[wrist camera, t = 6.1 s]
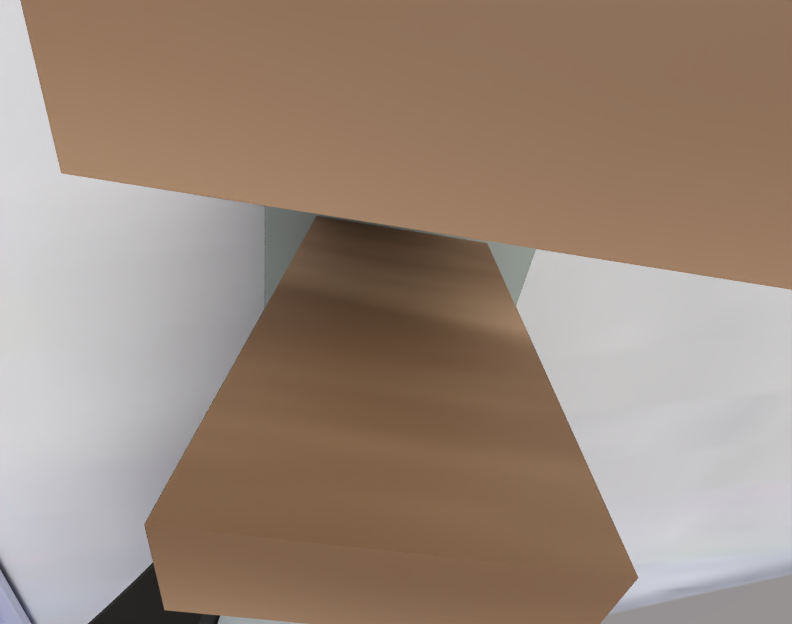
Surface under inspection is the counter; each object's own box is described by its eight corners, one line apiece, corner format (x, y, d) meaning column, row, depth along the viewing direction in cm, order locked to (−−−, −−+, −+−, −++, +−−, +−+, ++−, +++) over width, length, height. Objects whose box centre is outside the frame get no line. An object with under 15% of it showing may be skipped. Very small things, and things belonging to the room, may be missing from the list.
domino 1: (521, 120, 10) (867, 302, 3) (325, 85, 10) (60, 173, 2) (543, 44, 10) (1134, -19, 2) (330, 2, 9) (-48, -288, 2)
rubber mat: (413, 588, 22) (413, 596, 22) (266, 573, 22) (264, 581, 21) (681, -191, 8) (693, -203, 8) (272, -288, 7) (266, -304, 7)
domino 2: (472, 292, 13) (578, 649, 5) (312, 268, 12) (164, 610, 5) (487, 243, 12) (638, 577, 4) (316, 215, 12) (144, 524, 4)
